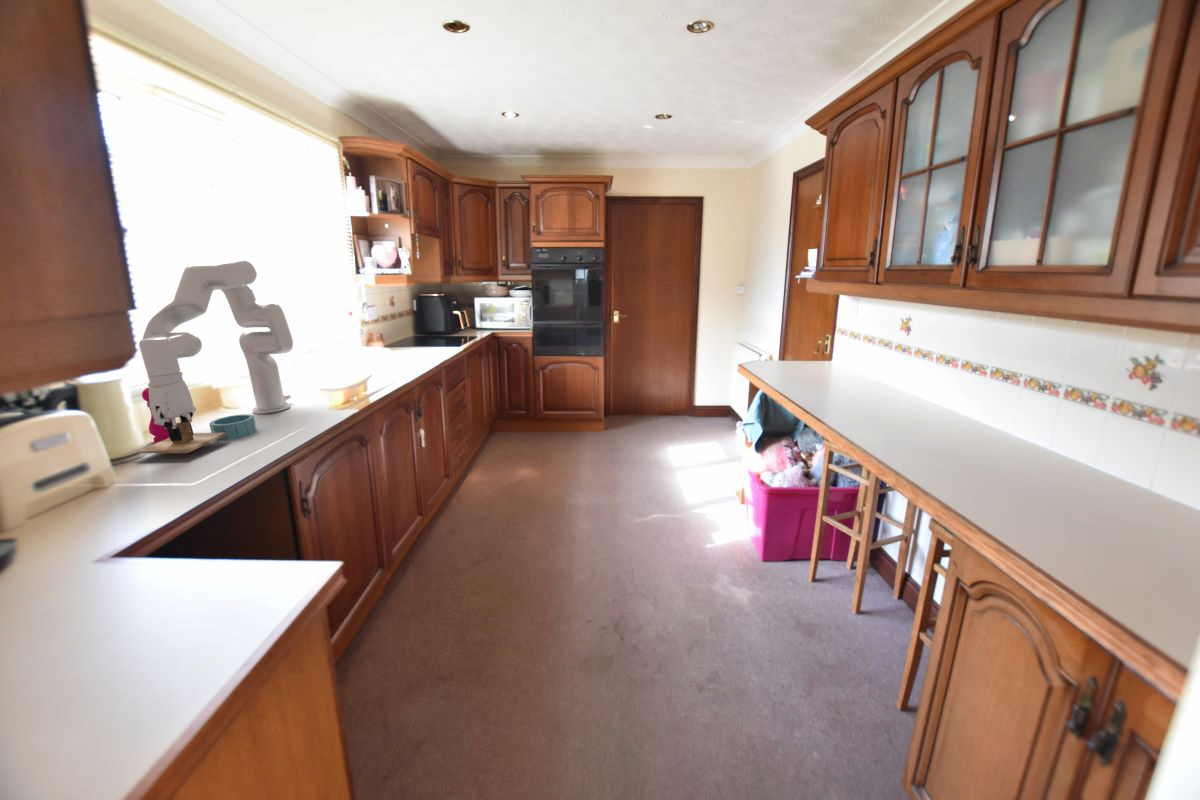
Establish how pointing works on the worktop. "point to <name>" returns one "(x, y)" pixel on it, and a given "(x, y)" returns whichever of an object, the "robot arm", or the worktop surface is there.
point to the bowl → (234, 426)
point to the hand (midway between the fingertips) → (182, 437)
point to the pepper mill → (154, 429)
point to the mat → (183, 454)
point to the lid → (183, 441)
